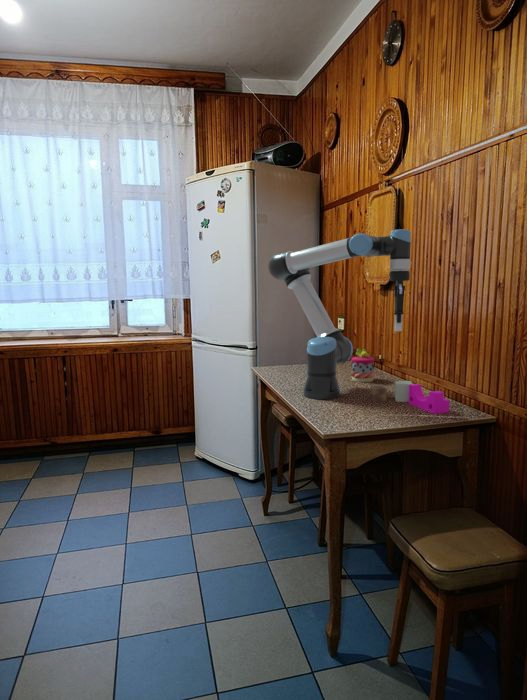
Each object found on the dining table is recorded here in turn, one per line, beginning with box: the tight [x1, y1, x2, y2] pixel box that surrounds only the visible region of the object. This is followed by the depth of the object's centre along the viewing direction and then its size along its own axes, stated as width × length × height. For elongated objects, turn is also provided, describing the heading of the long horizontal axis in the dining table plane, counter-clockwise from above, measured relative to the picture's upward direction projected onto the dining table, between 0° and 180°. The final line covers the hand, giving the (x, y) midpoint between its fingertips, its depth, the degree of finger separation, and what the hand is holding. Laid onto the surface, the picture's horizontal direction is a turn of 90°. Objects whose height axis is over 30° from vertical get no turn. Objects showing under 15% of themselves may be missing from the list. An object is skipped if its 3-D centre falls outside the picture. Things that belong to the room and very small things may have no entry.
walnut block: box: [370, 385, 388, 402], centre depth 183 cm, size 5×5×5 cm
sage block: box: [394, 380, 413, 403], centre depth 182 cm, size 6×6×7 cm
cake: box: [350, 348, 375, 383], centre depth 217 cm, size 10×11×15 cm
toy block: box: [408, 383, 450, 415], centre depth 170 cm, size 15×6×8 cm, turn 17°
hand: (398, 330), depth 185 cm, fingers closed
